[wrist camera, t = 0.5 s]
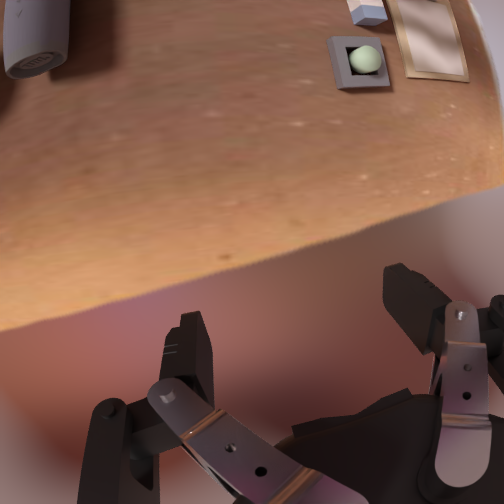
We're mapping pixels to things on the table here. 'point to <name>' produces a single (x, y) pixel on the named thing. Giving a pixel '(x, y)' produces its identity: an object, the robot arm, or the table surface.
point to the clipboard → (429, 39)
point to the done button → (365, 59)
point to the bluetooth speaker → (35, 36)
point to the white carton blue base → (367, 12)
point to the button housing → (342, 67)
